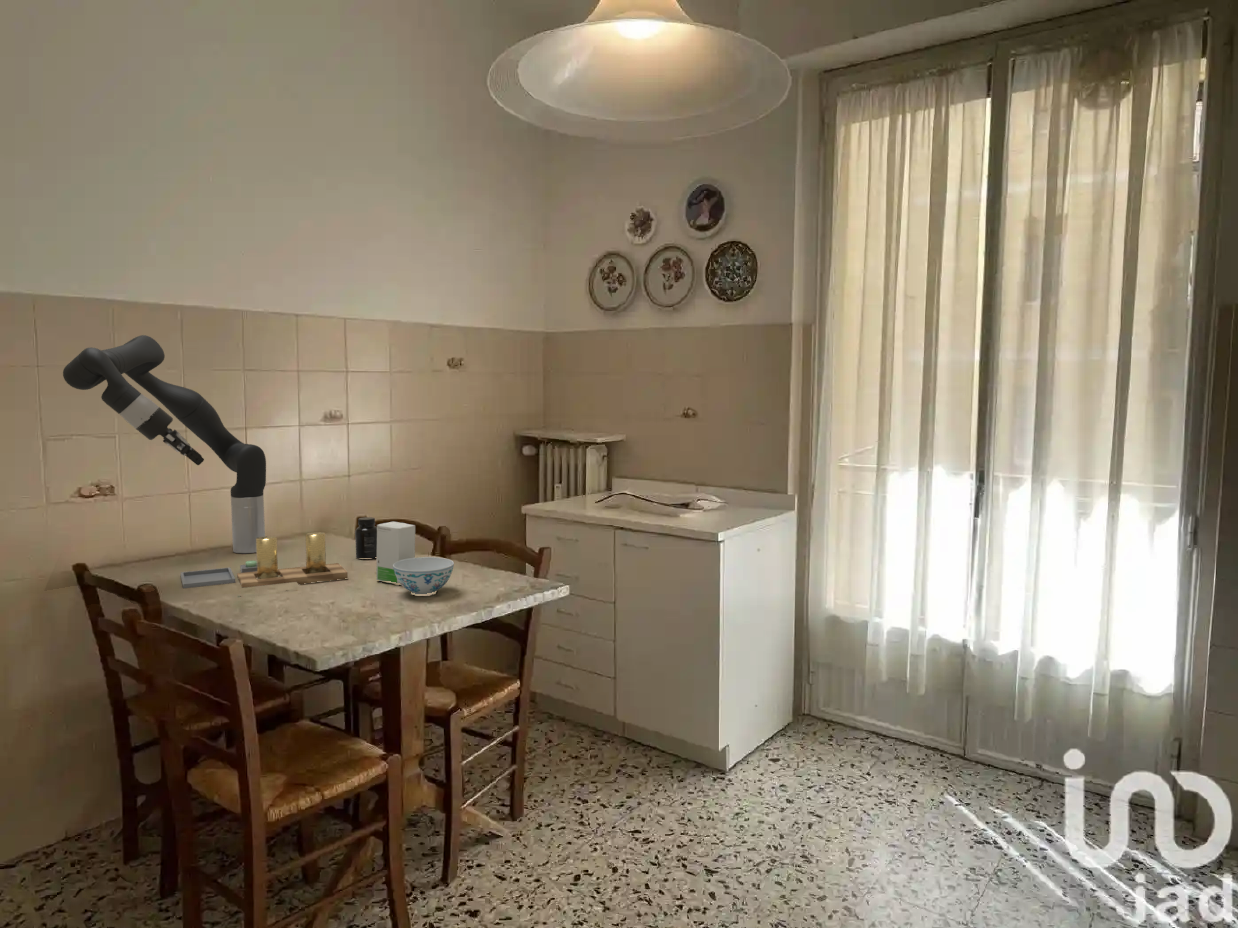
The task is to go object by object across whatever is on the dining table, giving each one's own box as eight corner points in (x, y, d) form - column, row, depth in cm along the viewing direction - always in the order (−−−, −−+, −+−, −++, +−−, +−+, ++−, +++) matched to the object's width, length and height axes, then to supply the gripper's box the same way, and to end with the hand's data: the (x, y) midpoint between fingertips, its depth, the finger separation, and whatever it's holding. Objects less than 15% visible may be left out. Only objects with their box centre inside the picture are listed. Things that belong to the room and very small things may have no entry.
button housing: (240, 573, 226) (240, 565, 225) (260, 571, 228) (259, 563, 228) (242, 577, 221) (242, 568, 221) (262, 575, 224) (262, 566, 224)
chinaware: (383, 591, 209) (383, 562, 209) (436, 582, 219) (436, 554, 218) (410, 604, 198) (409, 573, 197) (465, 594, 208) (464, 564, 207)
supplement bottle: (383, 555, 250) (382, 516, 249) (374, 560, 244) (373, 520, 242) (361, 554, 251) (360, 516, 250) (351, 559, 244) (351, 520, 243)
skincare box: (375, 582, 219) (374, 524, 217) (393, 576, 225) (392, 520, 223) (399, 586, 215) (398, 527, 213) (416, 580, 221) (416, 523, 219)
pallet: (237, 580, 218) (237, 573, 218) (338, 569, 231) (338, 562, 231) (242, 591, 208) (242, 583, 208) (347, 579, 221) (347, 572, 221)
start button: (245, 565, 225) (244, 561, 225) (256, 564, 226) (255, 560, 226) (246, 567, 223) (246, 563, 222) (257, 566, 224) (257, 562, 224)
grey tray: (180, 579, 219) (180, 572, 218) (230, 574, 225) (230, 567, 225) (183, 591, 207) (183, 584, 206) (235, 586, 213) (235, 578, 213)
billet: (256, 581, 218) (254, 537, 216) (276, 579, 220) (275, 535, 219) (259, 585, 213) (257, 540, 212) (279, 583, 216) (278, 538, 215)
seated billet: (304, 576, 224) (303, 533, 222) (323, 574, 226) (322, 531, 225) (308, 580, 219) (307, 536, 218) (328, 578, 222) (327, 534, 221)
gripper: (134, 426, 207) (187, 468, 214) (134, 429, 195) (190, 475, 202) (157, 404, 209) (209, 447, 216) (158, 407, 197) (213, 452, 204)
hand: (200, 461), depth 209 cm, fingers open, 8 cm apart
